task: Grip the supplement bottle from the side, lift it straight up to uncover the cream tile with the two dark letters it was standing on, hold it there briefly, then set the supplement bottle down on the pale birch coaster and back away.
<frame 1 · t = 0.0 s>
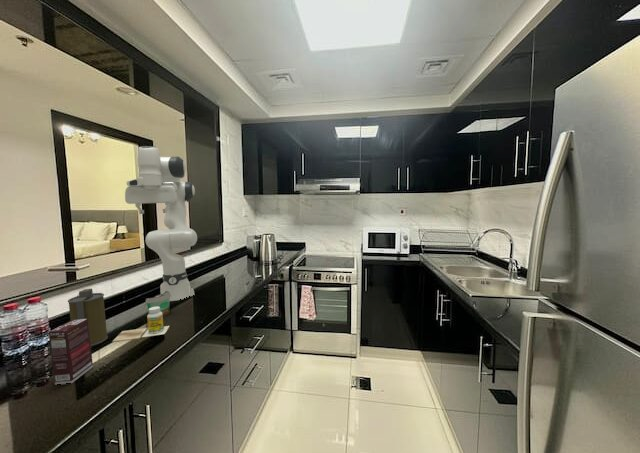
hand: (153, 213, 123), 48 cm above the counter, tool pointing down, fingers open, 8 cm apart
coaster: (130, 335, 108), on the counter
canister: (90, 342, 104), on the counter
code tile: (156, 331, 111), on the counter
supplement bottle: (156, 331, 111), resting on code tile
food container: (163, 315, 129), on the counter
supplement box: (74, 376, 82), on the counter
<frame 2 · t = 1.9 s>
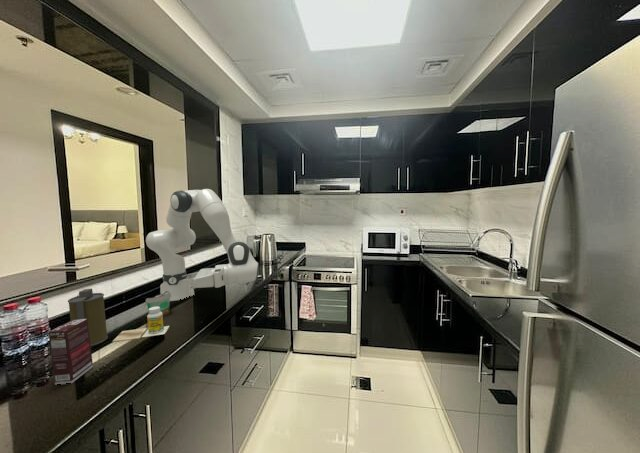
hand: (185, 278, 113), 20 cm above the counter, tool horizontal, fingers open, 8 cm apart
nothing on the counter moved.
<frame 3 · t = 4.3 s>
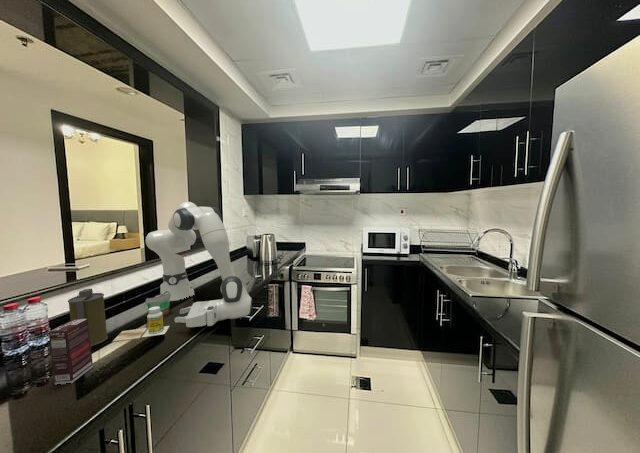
hand: (177, 315, 113), 5 cm above the counter, tool horizontal, fingers open, 8 cm apart
nothing on the counter moved.
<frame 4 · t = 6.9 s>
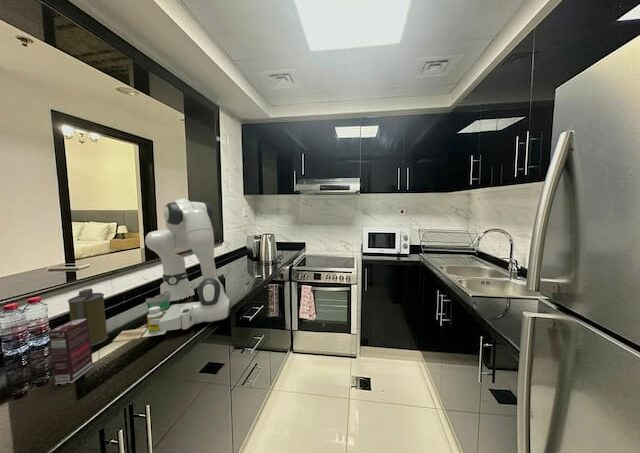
hand: (152, 318, 110), 6 cm above the counter, tool horizontal, fingers closed on supplement bottle, 5 cm apart
supplement bottle: (156, 331, 111), resting on code tile, touching gripper
everything else where it was.
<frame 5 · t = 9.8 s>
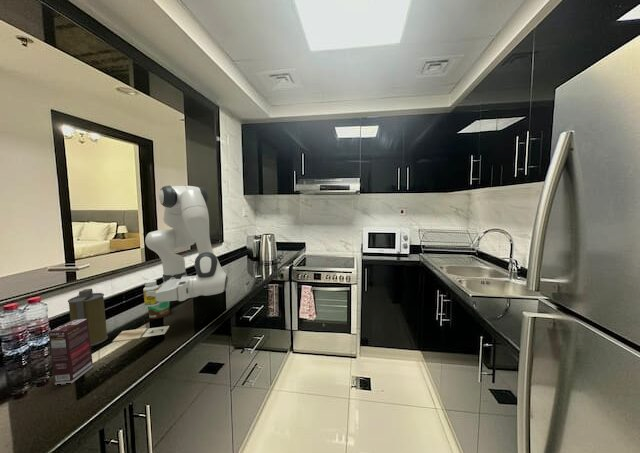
hand: (148, 291, 110), 17 cm above the counter, tool horizontal, fingers closed on supplement bottle, 5 cm apart
supplement bottle: (152, 305, 110), point 11 cm above the counter, touching gripper
everything else where it was.
when the fingers open (7 cm above the counter, at t = 13.1 s): supplement bottle stays where it is, resting on coaster.
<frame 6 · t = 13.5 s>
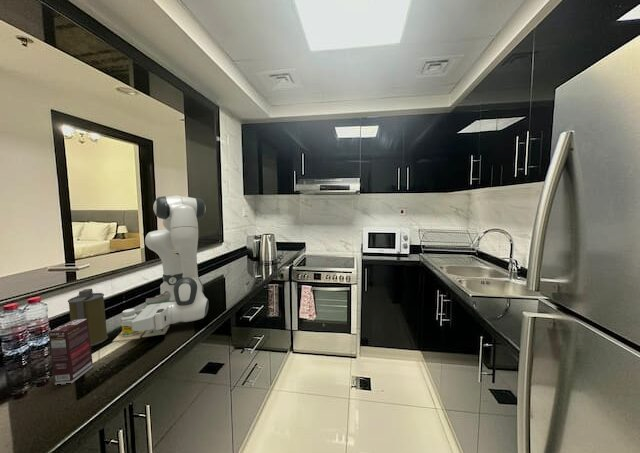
hand: (126, 318, 108), 7 cm above the counter, tool horizontal, fingers open, 8 cm apart
supplement bottle: (130, 334, 108), resting on coaster
everything else where it was.
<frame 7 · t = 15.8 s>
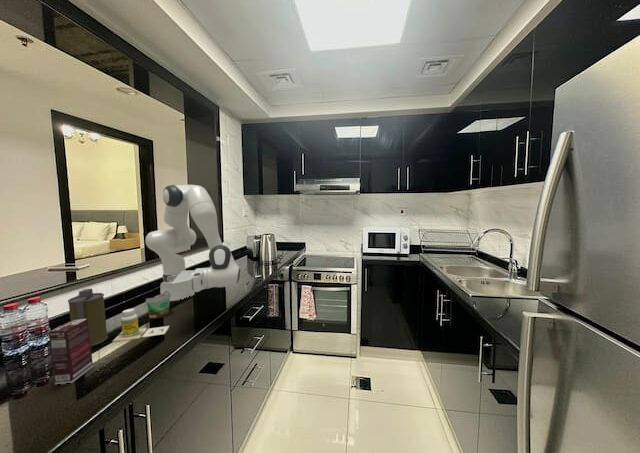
hand: (164, 281, 112), 20 cm above the counter, tool horizontal, fingers open, 8 cm apart
nothing on the counter moved.
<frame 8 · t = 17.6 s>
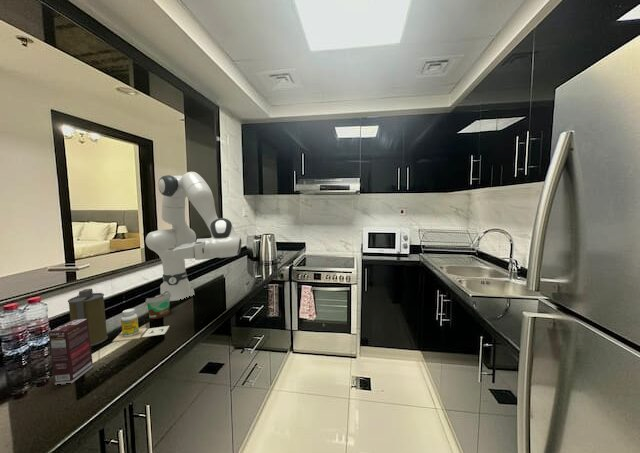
hand: (165, 251, 112), 32 cm above the counter, tool horizontal, fingers open, 8 cm apart
nothing on the counter moved.
at the end: supplement bottle inside the target area on the coaster (0.0 cm from its centre), point 0.3 cm above the coaster's base; supplement bottle tilted 0°; the gripper is holding nothing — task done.
